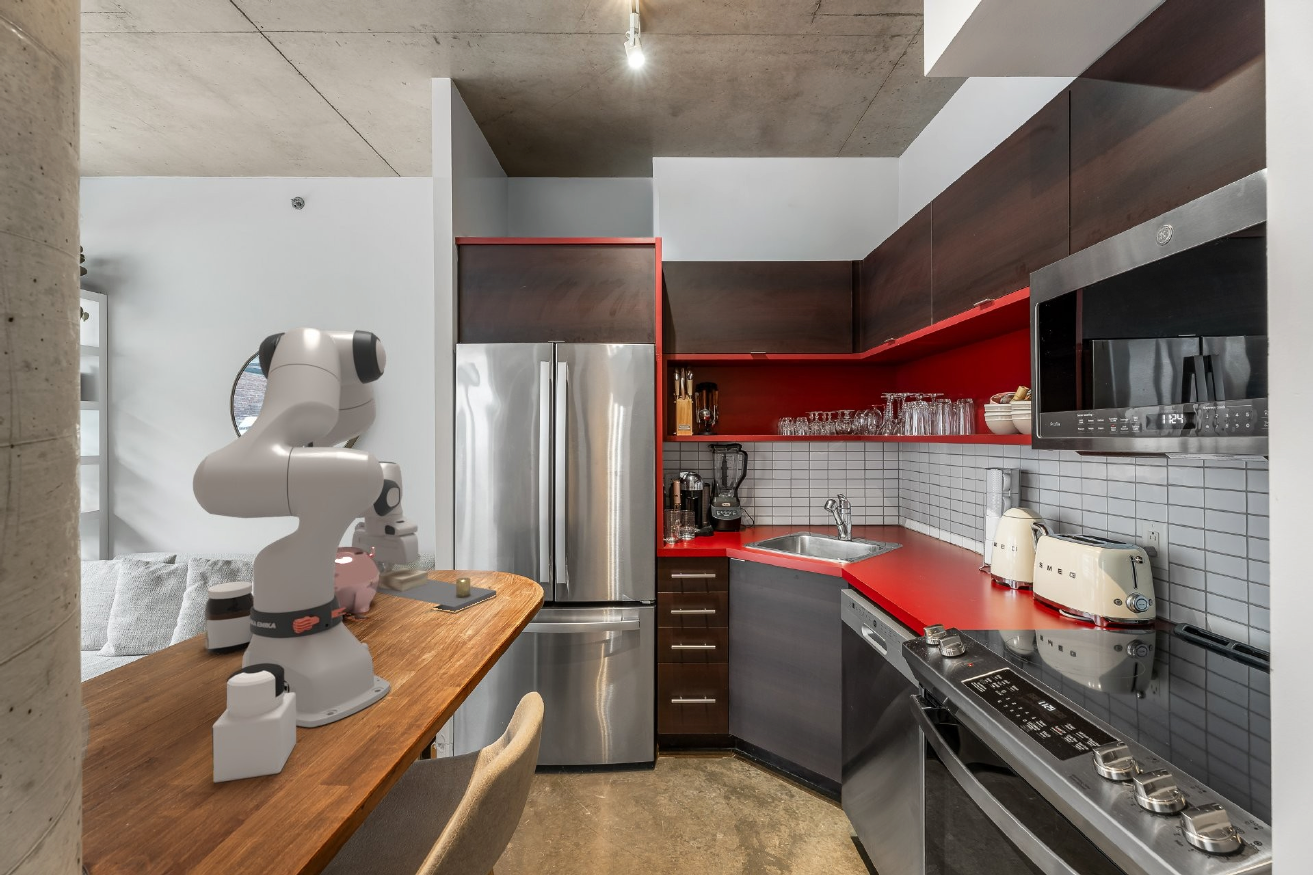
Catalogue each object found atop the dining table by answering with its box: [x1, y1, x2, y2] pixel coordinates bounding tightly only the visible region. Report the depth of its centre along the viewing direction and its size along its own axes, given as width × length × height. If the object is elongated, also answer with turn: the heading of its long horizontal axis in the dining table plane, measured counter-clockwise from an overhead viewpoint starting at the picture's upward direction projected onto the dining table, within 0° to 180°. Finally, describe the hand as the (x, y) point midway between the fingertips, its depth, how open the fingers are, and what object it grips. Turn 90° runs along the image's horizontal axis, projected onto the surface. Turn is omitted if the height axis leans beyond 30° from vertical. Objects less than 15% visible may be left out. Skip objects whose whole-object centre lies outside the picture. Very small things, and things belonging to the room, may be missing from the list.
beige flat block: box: [378, 567, 429, 592], centre depth 148 cm, size 9×8×3 cm
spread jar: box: [204, 581, 254, 655], centre depth 111 cm, size 12×11×12 cm
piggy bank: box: [334, 546, 380, 621], centre depth 129 cm, size 15×18×16 cm
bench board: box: [376, 578, 497, 612], centre depth 144 cm, size 30×14×2 cm, turn 65°
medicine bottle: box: [211, 663, 297, 783], centre depth 74 cm, size 7×7×12 cm
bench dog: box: [455, 577, 471, 598], centre depth 139 cm, size 3×3×4 cm
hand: (384, 578), depth 150 cm, fingers closed
